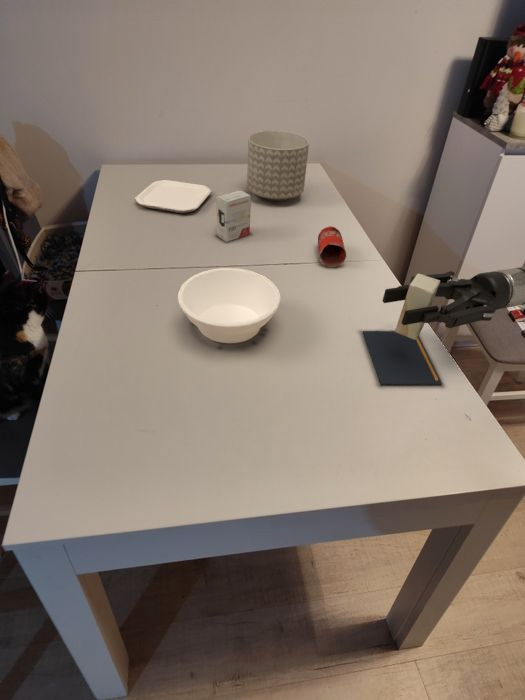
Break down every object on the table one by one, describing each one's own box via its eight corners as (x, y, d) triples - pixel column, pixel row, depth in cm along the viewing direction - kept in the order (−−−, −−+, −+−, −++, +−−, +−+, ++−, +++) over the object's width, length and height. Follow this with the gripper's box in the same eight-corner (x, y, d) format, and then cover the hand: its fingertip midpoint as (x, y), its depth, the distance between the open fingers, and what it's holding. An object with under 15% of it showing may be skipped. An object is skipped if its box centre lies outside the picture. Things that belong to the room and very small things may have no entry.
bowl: (226, 373, 85) (226, 340, 80) (160, 323, 96) (156, 291, 90) (297, 327, 97) (301, 296, 92) (231, 287, 108) (232, 257, 102)
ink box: (240, 228, 131) (241, 188, 124) (250, 234, 129) (252, 194, 121) (216, 235, 127) (215, 195, 119) (226, 242, 124) (226, 201, 117)
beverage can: (339, 246, 126) (343, 224, 122) (344, 268, 117) (348, 245, 113) (314, 245, 126) (317, 223, 122) (317, 267, 117) (320, 244, 113)
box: (402, 319, 89) (418, 271, 82) (423, 327, 88) (441, 279, 80) (393, 332, 86) (409, 284, 79) (415, 341, 84) (433, 292, 77)
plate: (193, 218, 135) (193, 211, 133) (130, 208, 137) (129, 201, 136) (215, 193, 150) (214, 186, 148) (157, 184, 153) (157, 178, 151)
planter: (257, 210, 141) (259, 150, 129) (239, 187, 155) (240, 131, 143) (311, 205, 147) (319, 147, 135) (290, 183, 160) (295, 129, 148)
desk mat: (441, 385, 86) (442, 383, 86) (380, 385, 85) (381, 383, 85) (415, 333, 98) (416, 331, 98) (362, 332, 97) (362, 330, 97)
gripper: (523, 335, 83) (417, 356, 77) (459, 280, 96) (365, 294, 90) (542, 302, 78) (430, 322, 72) (472, 249, 91) (373, 262, 85)
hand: (394, 306), depth 81 cm, fingers closed on box, 6 cm apart
